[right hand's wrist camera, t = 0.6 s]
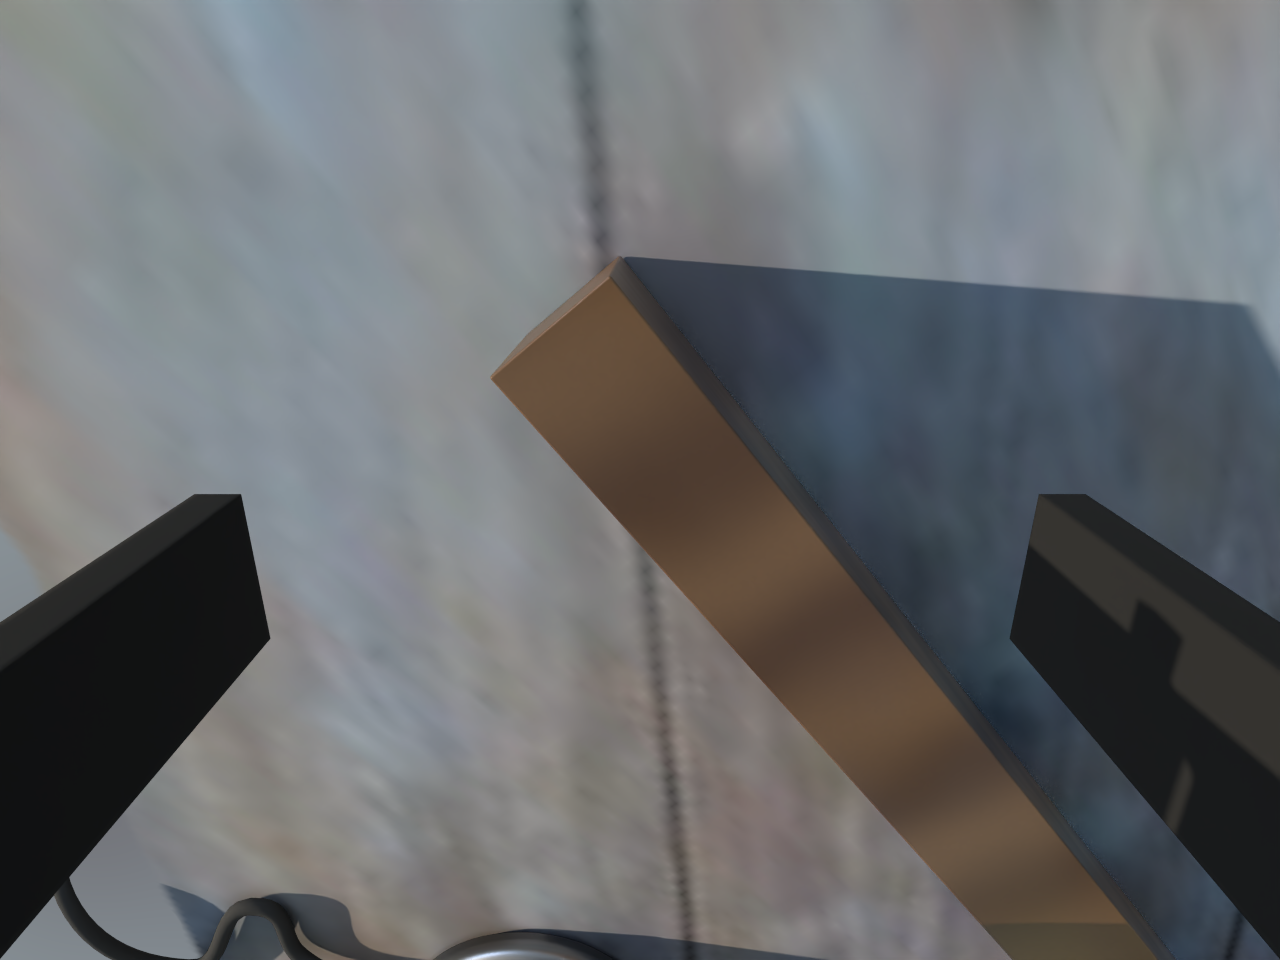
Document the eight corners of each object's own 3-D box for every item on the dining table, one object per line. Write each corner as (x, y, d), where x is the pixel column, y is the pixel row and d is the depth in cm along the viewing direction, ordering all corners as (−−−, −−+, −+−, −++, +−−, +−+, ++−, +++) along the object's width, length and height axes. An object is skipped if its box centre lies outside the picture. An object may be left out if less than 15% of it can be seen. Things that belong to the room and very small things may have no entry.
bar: (525, 335, 32) (488, 377, 25) (620, 255, 30) (610, 275, 23) (1290, 1221, 54) (1384, 1374, 47) (1363, 1196, 53) (1471, 1350, 46)
